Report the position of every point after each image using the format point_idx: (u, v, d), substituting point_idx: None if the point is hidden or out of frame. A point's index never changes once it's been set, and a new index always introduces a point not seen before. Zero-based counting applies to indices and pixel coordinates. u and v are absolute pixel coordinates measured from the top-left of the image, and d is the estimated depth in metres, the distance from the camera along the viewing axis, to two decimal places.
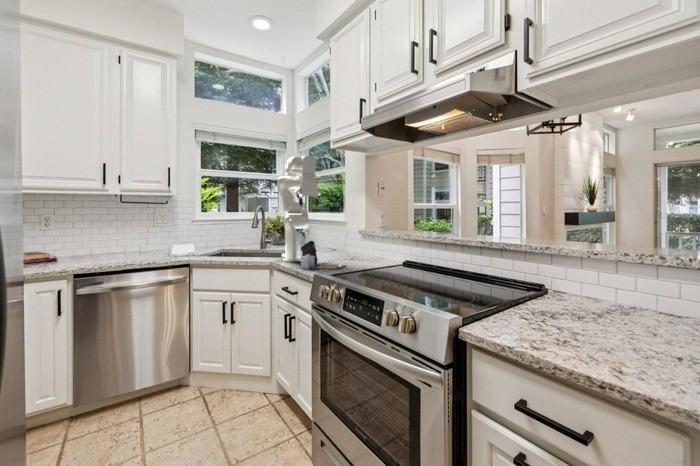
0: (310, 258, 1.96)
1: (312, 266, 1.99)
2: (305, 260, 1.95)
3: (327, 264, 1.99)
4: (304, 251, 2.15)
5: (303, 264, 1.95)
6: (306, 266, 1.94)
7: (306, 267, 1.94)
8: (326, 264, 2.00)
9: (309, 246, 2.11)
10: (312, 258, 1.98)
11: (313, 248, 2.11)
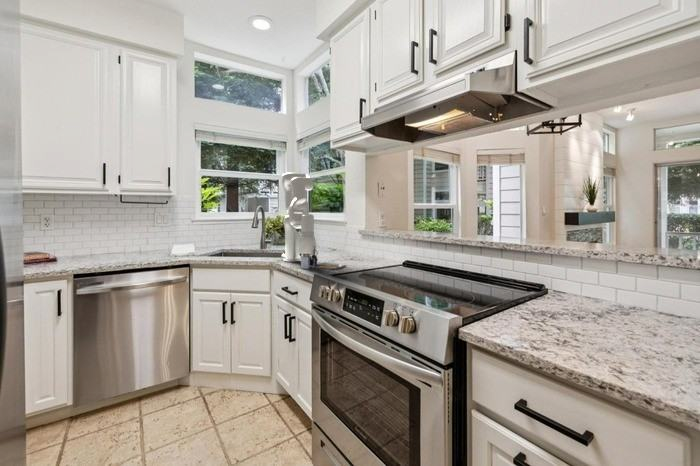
0: (310, 258, 1.96)
1: (312, 266, 1.99)
2: (305, 260, 1.95)
3: (327, 264, 1.99)
4: None
5: (303, 264, 1.95)
6: (306, 266, 1.94)
7: (306, 267, 1.94)
8: (326, 264, 2.00)
9: None
10: None
11: None
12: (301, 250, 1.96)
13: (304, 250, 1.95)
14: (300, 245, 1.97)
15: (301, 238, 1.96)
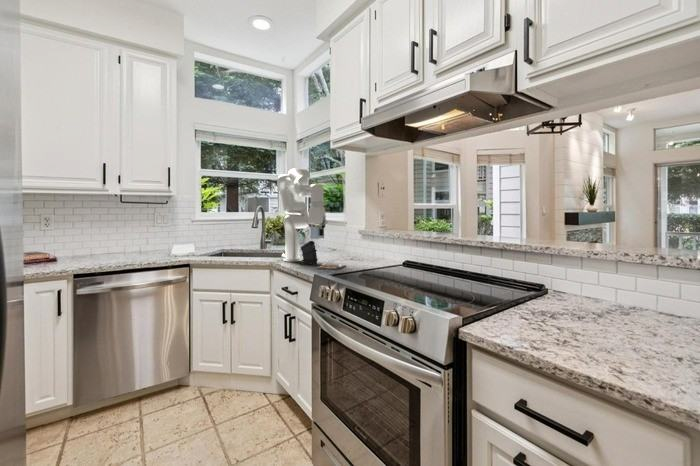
0: None
1: (322, 237, 1.99)
2: (315, 230, 1.94)
3: (327, 264, 1.99)
4: (304, 251, 2.15)
5: (313, 234, 1.95)
6: (316, 236, 1.94)
7: (316, 237, 1.94)
8: (326, 264, 2.00)
9: (309, 246, 2.11)
10: None
11: (313, 248, 2.11)
12: (311, 220, 1.96)
13: (313, 220, 1.95)
14: (310, 215, 1.96)
15: (311, 208, 1.96)
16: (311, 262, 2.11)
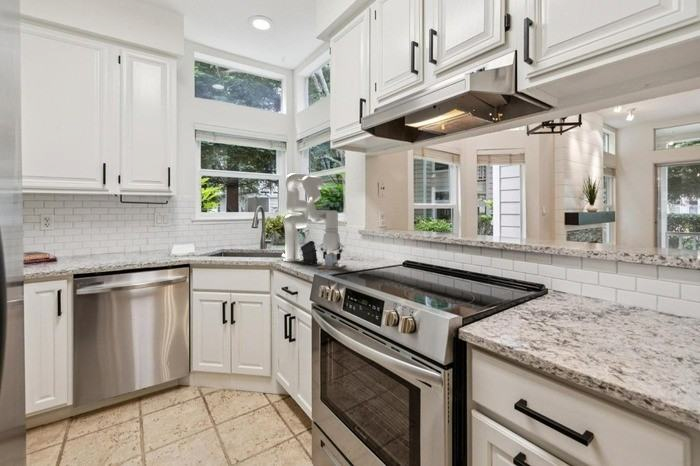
0: (334, 256, 1.98)
1: None
2: (329, 258, 1.96)
3: None
4: (304, 251, 2.15)
5: (327, 262, 1.97)
6: (330, 264, 1.96)
7: (330, 265, 1.96)
8: None
9: (309, 246, 2.11)
10: (335, 256, 1.99)
11: (313, 248, 2.11)
12: (325, 246, 1.98)
13: (328, 246, 1.97)
14: (324, 241, 1.98)
15: (325, 234, 1.98)
16: (311, 262, 2.11)
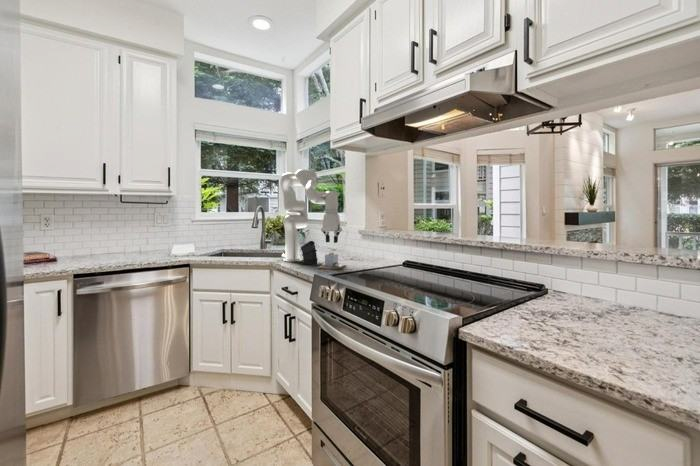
0: (334, 256, 1.98)
1: None
2: (329, 258, 1.96)
3: None
4: (304, 251, 2.15)
5: (327, 262, 1.97)
6: (330, 264, 1.96)
7: (330, 265, 1.96)
8: None
9: (309, 246, 2.11)
10: (335, 256, 1.99)
11: (313, 248, 2.11)
12: (325, 227, 1.97)
13: (328, 227, 1.96)
14: (324, 222, 1.97)
15: (325, 215, 1.97)
16: (311, 262, 2.11)
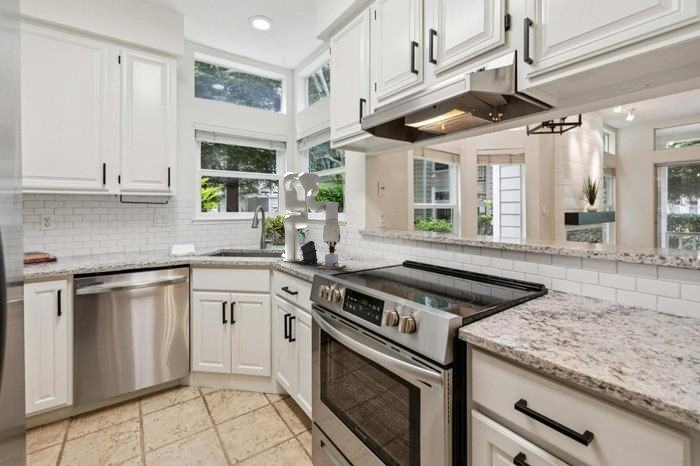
0: (334, 256, 1.97)
1: None
2: (329, 258, 1.96)
3: None
4: (304, 251, 2.15)
5: (327, 262, 1.97)
6: (330, 264, 1.96)
7: (330, 265, 1.96)
8: None
9: (309, 246, 2.11)
10: (336, 256, 1.99)
11: (313, 248, 2.11)
12: (325, 237, 1.97)
13: (328, 237, 1.96)
14: (324, 233, 1.98)
15: (325, 226, 1.97)
16: (311, 262, 2.11)
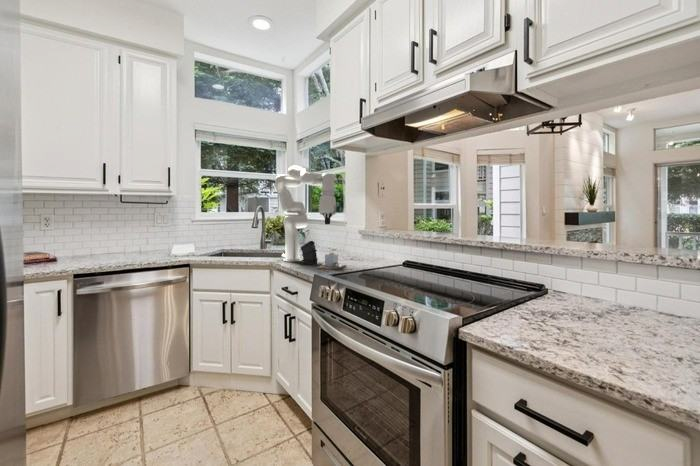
0: (334, 256, 1.98)
1: None
2: (329, 258, 1.96)
3: None
4: (304, 251, 2.15)
5: (327, 262, 1.97)
6: (330, 264, 1.96)
7: (330, 265, 1.96)
8: None
9: (309, 246, 2.11)
10: (335, 256, 1.99)
11: (313, 248, 2.11)
12: (321, 209, 2.00)
13: (324, 208, 1.99)
14: (320, 204, 2.01)
15: (322, 197, 2.00)
16: (311, 262, 2.11)
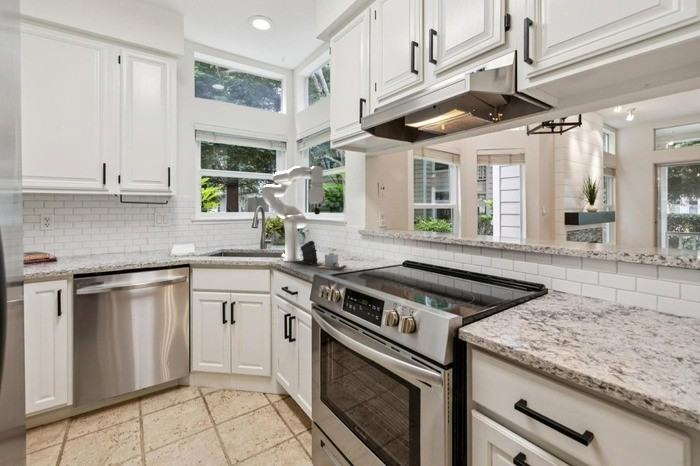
0: (334, 256, 1.98)
1: None
2: (329, 258, 1.96)
3: None
4: (304, 251, 2.15)
5: (327, 262, 1.97)
6: (330, 264, 1.96)
7: (330, 265, 1.96)
8: None
9: (309, 246, 2.11)
10: (335, 256, 1.99)
11: (313, 248, 2.11)
12: (311, 200, 2.13)
13: (313, 199, 2.12)
14: (310, 195, 2.13)
15: (311, 189, 2.12)
16: (311, 262, 2.11)
